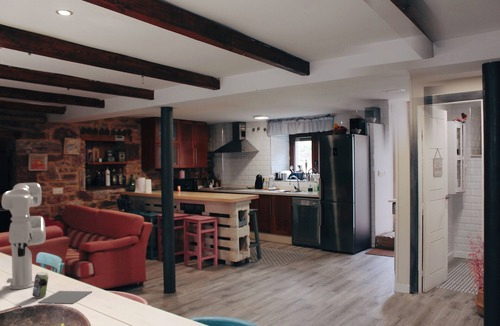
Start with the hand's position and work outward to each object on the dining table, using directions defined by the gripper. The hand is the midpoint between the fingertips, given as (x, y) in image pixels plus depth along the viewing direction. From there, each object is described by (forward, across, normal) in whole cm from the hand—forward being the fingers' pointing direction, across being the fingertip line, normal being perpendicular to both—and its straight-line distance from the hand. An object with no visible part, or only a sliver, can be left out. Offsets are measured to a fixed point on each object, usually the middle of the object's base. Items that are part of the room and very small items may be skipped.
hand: (21, 256), depth 209 cm
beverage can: (+21, +10, 0) cm, 23 cm away
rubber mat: (+20, +23, 0) cm, 31 cm away
